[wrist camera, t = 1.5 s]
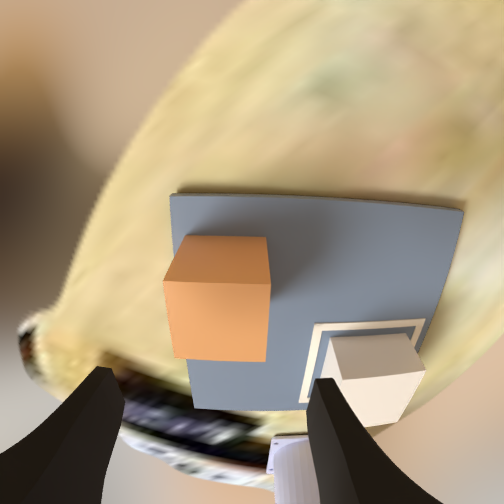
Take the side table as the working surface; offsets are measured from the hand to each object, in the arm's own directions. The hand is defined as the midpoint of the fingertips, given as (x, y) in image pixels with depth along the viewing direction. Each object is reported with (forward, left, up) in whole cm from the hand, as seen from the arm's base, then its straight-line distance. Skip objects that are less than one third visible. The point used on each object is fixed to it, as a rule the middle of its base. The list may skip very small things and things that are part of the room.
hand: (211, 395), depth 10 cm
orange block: (0, 0, -9) cm, 9 cm away
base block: (-8, -10, -9) cm, 16 cm away
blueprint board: (-5, -6, -10) cm, 12 cm away
